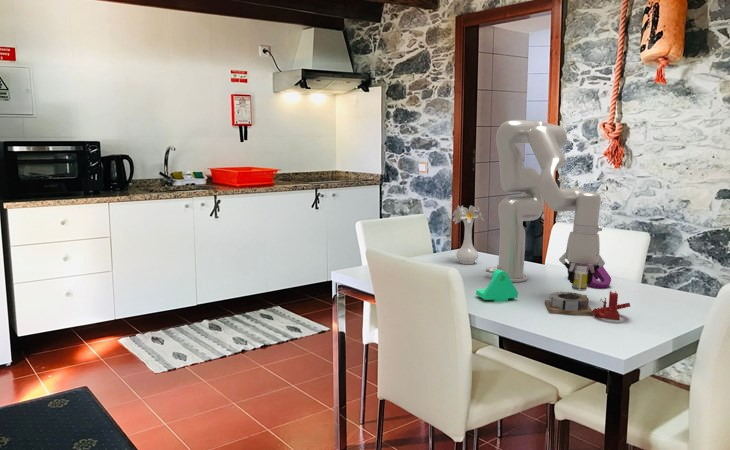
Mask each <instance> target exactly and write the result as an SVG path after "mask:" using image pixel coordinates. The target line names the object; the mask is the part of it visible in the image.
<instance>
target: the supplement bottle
mask: <svg viewBox="0 0 730 450" xmlns="http://www.w3.org/2000/svg"><path fill="white" fill-rule="evenodd" d="M587 268H588V266H587V265H585V264H575V270H574V279H573V283H571V289H572V290H573V291H577V292H585V291H587V289H588V288H587V287H588V284H587V281H588V271H587Z"/></svg>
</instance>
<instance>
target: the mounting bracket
mask: <svg viewBox="0 0 730 450" xmlns="http://www.w3.org/2000/svg"><path fill="white" fill-rule="evenodd" d="M569 263H570V262H569V261H568V264H569ZM598 263H599V262H598ZM575 264H580V263H575ZM585 265H587V266H588V264H585ZM593 265H595V264H593ZM574 270H575V266H574V268H573V271H574ZM588 270H589V266H588V268H587V271H588ZM568 272H569V270H568V269H567V273H568ZM611 282H612V277H611V275H610V274H609V272H607V270H606V269H605V267H604V265H603V266H601V267H599V268H598V269H597V270H596V271H595V272H594V273H593V278H592V282H590V285H589V284H587V286H590V287H592V288H594V289H599V290H600V289H608V288H609V287H610V285H611Z"/></svg>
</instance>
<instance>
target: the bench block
mask: <svg viewBox="0 0 730 450" xmlns="http://www.w3.org/2000/svg"><path fill="white" fill-rule="evenodd" d="M544 306H545V307H546V310H547V311H548V313H549V314H557V315H558V314H559V315H573V316H574V315H575V316H577V315H578V316H591V317H592V316H593V317H594V315H593V309H592V308H591V307H590V305H589V304H588V309H586V310H582V311H566V310H561V309H557V308H554V307H552V306H550V304H549V299H545V300H544Z"/></svg>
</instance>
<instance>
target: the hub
mask: <svg viewBox="0 0 730 450" xmlns="http://www.w3.org/2000/svg"><path fill="white" fill-rule="evenodd" d="M548 300H549V304H550V306H552V307H554V308H557V309H561V310H566V311H582V310H586V309H588V305H589V298H588V295H587V294H581V293H577V292H569V291H555V292H552V293H551V292H550V294H549V299H548Z"/></svg>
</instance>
